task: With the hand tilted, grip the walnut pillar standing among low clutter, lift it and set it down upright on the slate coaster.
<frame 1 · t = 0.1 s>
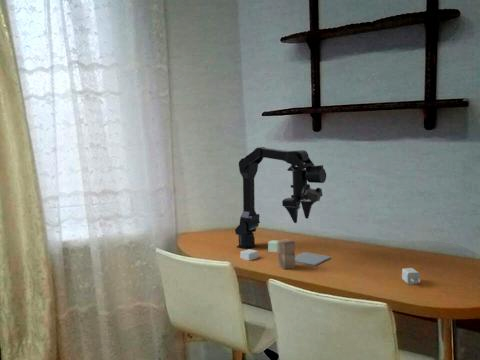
hand: (301, 220, 176), 15 cm above the table, fingers open, 9 cm apart
slate coaster: (309, 259, 172), on the table
pale green cube: (274, 250, 187), on the table
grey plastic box: (249, 258, 178), on the table
usb wall charger: (412, 284, 143), on the table
walnut pillar: (286, 266, 165), on the table
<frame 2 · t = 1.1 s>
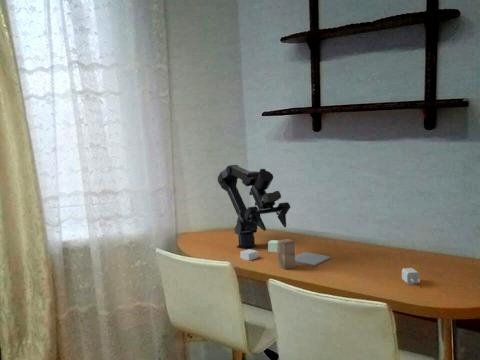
hand: (275, 228, 170), 13 cm above the table, fingers open, 9 cm apart
nothing on the table moved.
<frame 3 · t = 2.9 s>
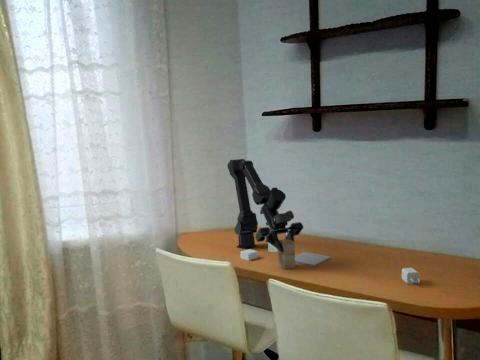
hand: (288, 250, 163), 7 cm above the table, fingers closed on walnut pillar, 4 cm apart
walnut pillar: (286, 266, 165), on the table, touching gripper
everything else where it was.
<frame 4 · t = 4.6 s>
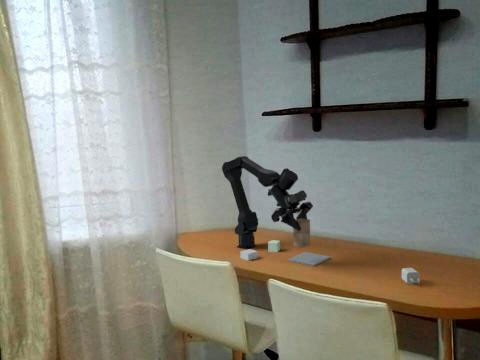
hand: (304, 229, 166), 13 cm above the table, fingers closed on walnut pillar, 4 cm apart
walnut pillar: (301, 245, 168), point 7 cm above the table, touching gripper
everything else where it was.
when the fingers open (8 cm above the table, at t = 6.2 s): walnut pillar moves 1 cm, resting on slate coaster.
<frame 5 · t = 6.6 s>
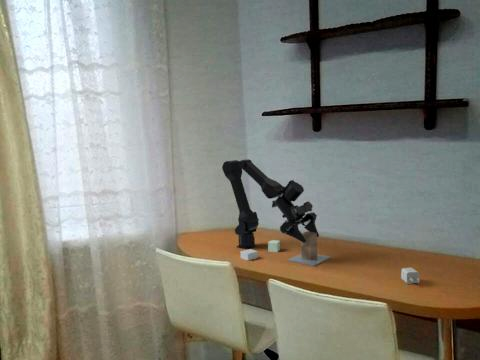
hand: (311, 239, 170), 8 cm above the table, fingers open, 9 cm apart
walnut pillar: (309, 258, 172), point 1 cm above the table, touching slate coaster
everything else where it was.
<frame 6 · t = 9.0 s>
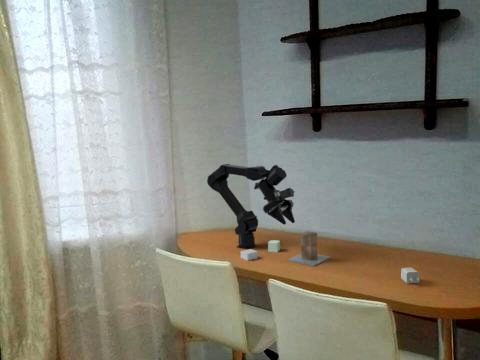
hand: (289, 223, 177), 13 cm above the table, fingers open, 9 cm apart
nothing on the table moved.
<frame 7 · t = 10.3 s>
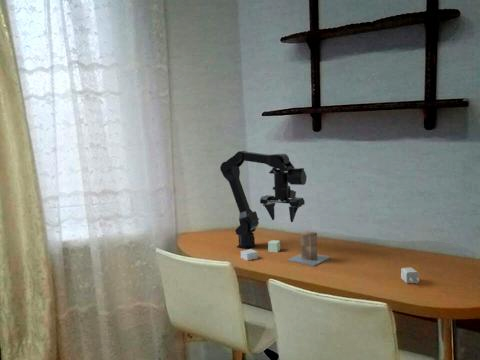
hand: (282, 221, 184), 13 cm above the table, fingers open, 9 cm apart
nothing on the table moved.
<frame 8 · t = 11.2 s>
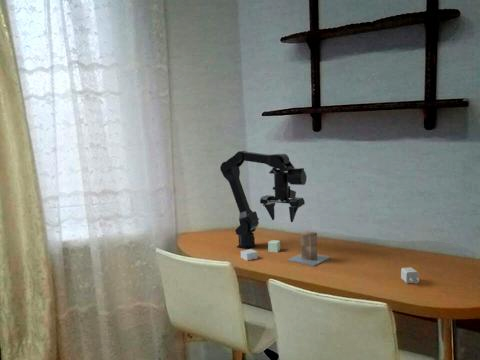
hand: (282, 221, 184), 13 cm above the table, fingers open, 9 cm apart
nothing on the table moved.
at the end: walnut pillar inside the target area on the slate coaster (0.1 cm from its centre), point 0.6 cm above the slate coaster's base; walnut pillar tilted 0°; the gripper is holding nothing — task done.
